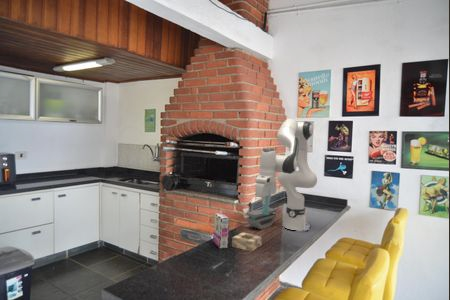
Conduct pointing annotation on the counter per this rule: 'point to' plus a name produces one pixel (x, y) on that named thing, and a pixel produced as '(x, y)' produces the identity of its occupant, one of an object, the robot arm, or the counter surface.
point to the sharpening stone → (261, 218)
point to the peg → (266, 205)
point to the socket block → (246, 241)
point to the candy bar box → (221, 230)
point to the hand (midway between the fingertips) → (265, 203)
